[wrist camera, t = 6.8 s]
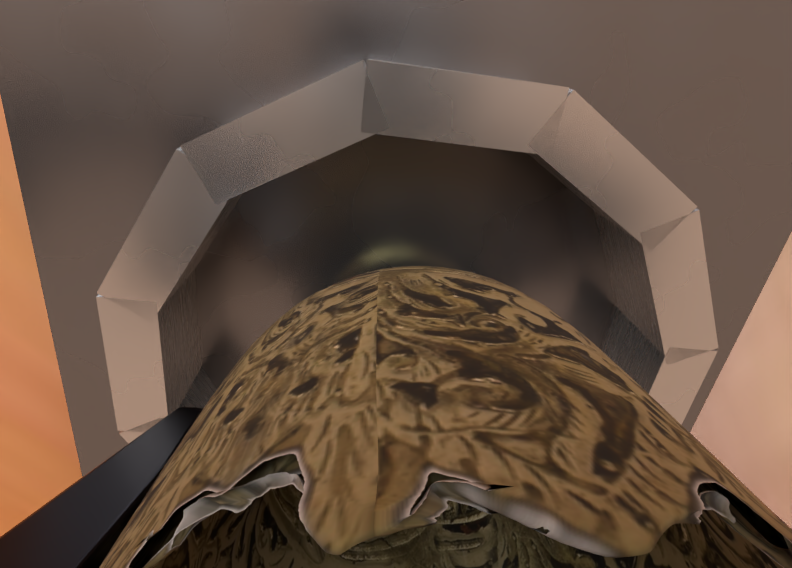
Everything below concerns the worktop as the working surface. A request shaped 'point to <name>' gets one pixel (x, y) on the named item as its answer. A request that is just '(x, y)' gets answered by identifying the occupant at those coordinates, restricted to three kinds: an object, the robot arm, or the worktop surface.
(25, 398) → the worktop surface
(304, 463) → the cup
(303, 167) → the cup bracket
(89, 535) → the robot arm
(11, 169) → the worktop surface
